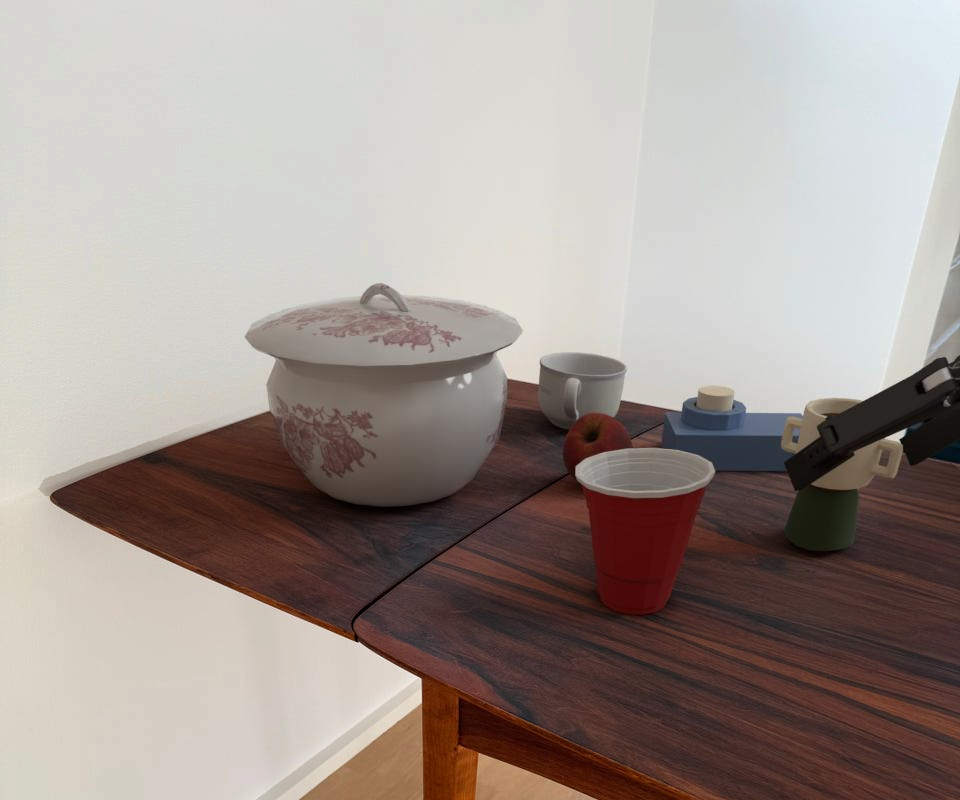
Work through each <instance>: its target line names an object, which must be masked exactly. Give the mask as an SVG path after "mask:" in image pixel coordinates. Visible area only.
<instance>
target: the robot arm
mask: <svg viewBox="0 0 960 800" xmlns="http://www.w3.org/2000/svg"><path fill="white" fill-rule="evenodd" d="M945 401H946V402H947V404H948V406H944V405H943V404H942V402H945ZM927 420H928V421H927ZM923 422H924V423H923ZM920 423H923V424H921V425H919V426H918V427H916V428H915V429H913V430H912V431H910V432H909V433H907V434H905V435H903V436H902V437H900V438H899V439H898V441H899V443H900V444H902V445H903V453H904V454H905V457H906V459H907V461H908V464H909V466H910V467H913V466H917V465H920V464H921V463H922V462H925V461H926V460H927V459H929V458H932V457H933V456H934V455H936V454H938V453H940V452H941V451H943V450H946V449H947V448H948V447H950V446H951V445H953V444H956V443H957V442H959V441H960V354H959V355H957V357H955V359H954V361H951V362H949V360H948V358H947V357H946V356H942V357H938V358H935V359H933V360H932V361H931V362H930V363H928V364H926V365H925V366H924V367H922V368H920V369H919V370H918V371H916V372H914V373H913V374H911V375H909V376H908V377H905V378H904V379H902V380H899V381H898V382H896V383H894V384H892V385H890V386H888V387H886V388H884V389H883V390H881V391H879V392H877V393H875V394H873V395H872V396H869V397H868V398H866V399H864V400H862V402H860V403H859V404H857V405H855V406H853V407H851V408H849V409H847V410H845V411H843V412H842V413H840V414H838V415H836V416H834V417H833V416H832V414H831V415H829V416H828V417H826V418H825V421H823V422H821V424H819V425H818V426H817V429H818V432H819V434H820V437H819V438H817V439H816V440H815V441H813V442H812V443H810V444H809V445H808V446H806V447H805V448H803V449H802V450H801V451H799V452H798V453H796V454H795V455H793V456H792V457H791V458H789V459H788V460H786V461H785V462H784V465H785V467H786V470H787V471H786V472H787V474H788V475H787V476H788V477H789V479H790V482H791V484H792V487H793V490H794V492H798V490H802V489H804V488H805V487H807V486H808V485H810V484H812V483H813V482H815V481H816V480H818V479H819V478H821V477H822V476H824V475H825V474H827V473H829V472H830V471H832V470H833V469H835V468H836V467H838V466H839V465H841V464H842V463H844V462H846V461H847V460H849V459H850V458H852V457H853V456H855V454H854V451H856V450H859V449H861V448H863V447H865V446H868V445H870V444H872V443H874V442H877V441H879V440H881V439H884V438H885V439H887V438H888V437H890V436H893V435H895V434H897V433H899V432H902V431H904V430H906V429H909V428H911V427H913V426H915V425H918V424H920Z"/></svg>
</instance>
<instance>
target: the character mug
mask: <svg viewBox="0 0 960 800" xmlns="http://www.w3.org/2000/svg"><path fill="white" fill-rule="evenodd" d="M862 401H863V399H855V398H849V397H848V398H845V397H844V398H843V397H842V398H841V397H828V398H826V397H825V398H817V399H813V400H810V401H809V402H808V403H807V404H805V407H804V410H803V414H802V415H803V419H801V418H797V417H793V416H792V417H788V418H787V419H786V421H785V425H784V430H783V435H782V441H781V448H782V449H783V450H785V451H787V452H791V453H795V454H796V453H798V452H799V451H801V450H802V449H803V448H805V447H806V446H808V445H809V444H810V443H812V442H813V441H815V440H816V439H817V438H819V437H820V434H819V432H818V429H817V426H818V425H819V424H821V422H823V421H825V418H826V417H828V416H829V415H831V414H832V416H833V417H834V416H836V415H838V414H840V413H842V412H843V411H845V410H847V409H849V408H851V407H853V406H855V405H857V404H859V403H860V402H862ZM794 428H798V429H800V434H799V439H798V444H797V443H793V442H792V438H793V433H794ZM883 451H885V452H889V457H888V460H887V465H885V466H884V465H882V464H881V465H880V464H879V463H880V461H881V456H882V452H883ZM903 453H904V450H903V445H902V444H901V443H900V441H896V440H891V439H887V438H884V439H881V440H879V441H877V442H874V443H872V444H870V445H868V446H865V447H863V448H861V449H859V450H856V451H854V454H855V456H853V457H852V458H850V459H849V460H847V461H846V462H844V463H842V464H841V465H839V466H838V467H836V468H835V469H833V470H832V471H830V472H829V473H827V474H825V475H824V476H822V477H821V478H819V479H818V480H816V481H815V482H813V483H812V484H810V485H808V486H807V487H805V488H804V489H802V490H798V491H797V492H796V496H795V499H794V501H793V504H792V507H791V509H790V512H789V514H788V517H787V521H786V524H785V527H784V533H785V536H786V537H785V538H786V539H787V540H789V541H790V542H791V543H792V544H794V545H795V546H796V547H799V548H801V549H806V550H808V551H816V552H817V551H818V552H831V551H838V550H843V549H846V548H848V547H851V546H852V545H853V544H854V543H855V537H856V530H857V524H858V513H859V501H860V494H859V491H858V490H859V489H861V488H864V487H867V486H868V485H869V484H870V482H872V480H873V478H874V477H875V476H876V477H880V478H883V479H895V477H896V476H897V474H898V471H899V468H900V464H901V460H902V457H903Z"/></svg>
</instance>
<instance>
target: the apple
mask: <svg viewBox="0 0 960 800" xmlns="http://www.w3.org/2000/svg"><path fill="white" fill-rule="evenodd" d="M631 448H634V447H633V442H632V440H631V437H630V434H629V431H627V429H626V427H625V426H624V425H623V424H622V423H621V422H620V421H619V420H617V419H616V418H615V417H614V418H613V417H611V416H609V415H606V414H602V413H589V414H586V415H584V416H582V417H580V418H579V419H578V420H577V421H576V422H575V423H574V424H573V426H572V427H571V429H570V430H569V429H568V431H567V434H566V436H565V439H564V442H563V447H562V458H563V464H564V467H565V468H566V470H567V472H568V474H569V475H570V477H571V478H572V479H573V480H574V481H575V482H577V483H578V484H580V482H579V481H577V478H576V466H577V465H578V464H579V463H581V462H582V461H583V460H584V459H586V458H589V457H592V456H595V455H597V454H600V453H603V452H609V451H615V450H622V449H631ZM580 485H581V484H580Z"/></svg>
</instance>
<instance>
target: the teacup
mask: <svg viewBox="0 0 960 800" xmlns="http://www.w3.org/2000/svg"><path fill="white" fill-rule="evenodd" d="M627 370H628V368H627V365H626V364H625V363H624V362H622V361H620V360H618V359H616V358H613V357H609V356H605V355H601V354H597V353H596V354H595V353H588V352H575V351H574V352H572V351H571V352H570V351H569V352H565V351H564V352H555V353H554V352H553V353H549V354H546V355H543V356H542V357H541V358H539V378H538V392H537V395H538V397H537V399H538V400H537V401H538V406H539V409H540V411H541V412H542V414H543V415H544V416H545V417H546V418H547V419H548V420H549V422H550V423H551V424H552V425H554V426H555V427H558V428H561V429H565V430H568V431H569V430H570V429H571V427H572V426H573V424H574V423H575V422H576V421H577V420H578V419H579V418H580V417H582V416H584V415H586V414H589V413H602V414H606V415H609V416H611V417H613V418H615V416H616V415H617V414H618V411H619V409H620V405H621V400H622V395H623V389H624V384H625V377H626V373H627Z"/></svg>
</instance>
